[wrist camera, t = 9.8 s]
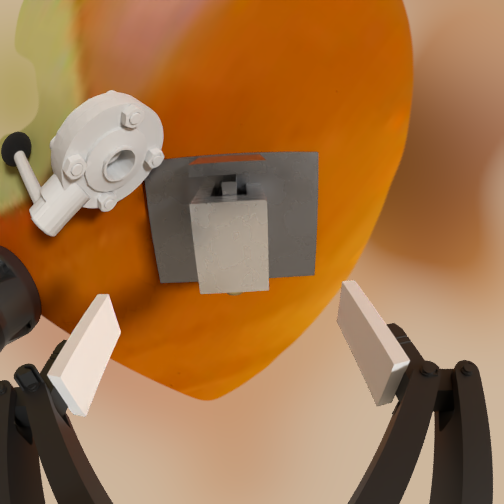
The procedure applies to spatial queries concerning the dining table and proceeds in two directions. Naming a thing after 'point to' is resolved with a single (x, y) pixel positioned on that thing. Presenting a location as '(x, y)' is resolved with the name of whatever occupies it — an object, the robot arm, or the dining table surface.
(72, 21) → the dining table surface
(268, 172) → the dark grey angled piece
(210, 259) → the hollow grey box
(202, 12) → the dining table surface
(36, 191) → the valve
